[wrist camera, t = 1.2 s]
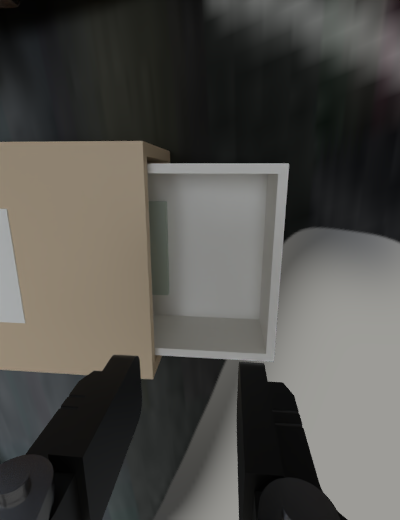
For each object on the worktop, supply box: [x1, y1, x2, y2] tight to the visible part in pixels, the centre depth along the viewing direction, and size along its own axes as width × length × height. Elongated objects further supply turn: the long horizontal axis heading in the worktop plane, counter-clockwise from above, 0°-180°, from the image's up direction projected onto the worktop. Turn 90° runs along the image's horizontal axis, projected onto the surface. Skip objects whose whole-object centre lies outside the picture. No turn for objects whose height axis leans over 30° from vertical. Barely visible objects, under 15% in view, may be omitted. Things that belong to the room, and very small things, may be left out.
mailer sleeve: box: [0, 141, 170, 379], centre depth 25 cm, size 16×20×8 cm
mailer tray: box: [147, 163, 289, 362], centre depth 24 cm, size 14×19×6 cm
